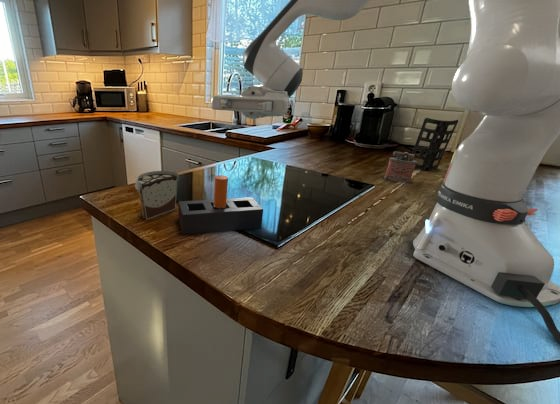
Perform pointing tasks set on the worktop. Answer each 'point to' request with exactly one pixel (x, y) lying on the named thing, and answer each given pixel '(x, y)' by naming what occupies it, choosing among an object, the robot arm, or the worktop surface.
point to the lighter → (400, 167)
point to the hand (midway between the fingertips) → (241, 106)
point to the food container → (157, 192)
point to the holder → (433, 143)
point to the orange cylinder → (220, 192)
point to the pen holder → (219, 216)
